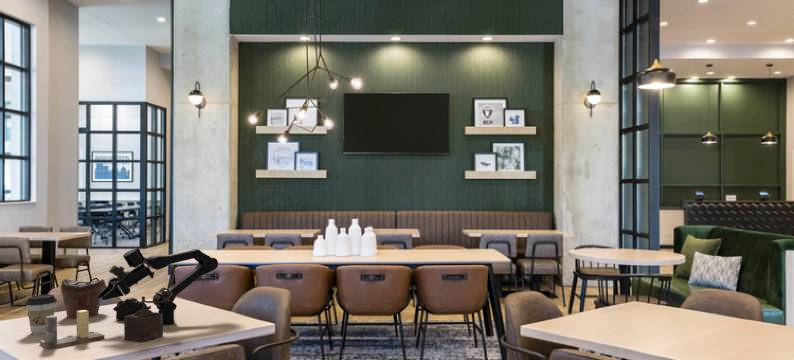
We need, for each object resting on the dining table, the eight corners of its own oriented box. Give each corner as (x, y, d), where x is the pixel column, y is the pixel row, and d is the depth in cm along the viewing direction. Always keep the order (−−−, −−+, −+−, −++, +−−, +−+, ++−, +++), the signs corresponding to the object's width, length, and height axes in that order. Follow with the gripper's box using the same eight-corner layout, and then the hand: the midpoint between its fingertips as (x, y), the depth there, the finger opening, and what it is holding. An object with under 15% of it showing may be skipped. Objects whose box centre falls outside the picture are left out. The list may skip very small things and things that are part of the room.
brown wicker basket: (114, 312, 270) (114, 275, 270) (72, 321, 253) (71, 282, 254) (94, 309, 280) (93, 274, 280) (52, 318, 263) (51, 279, 263)
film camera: (159, 315, 263) (159, 294, 263) (148, 321, 251) (148, 299, 251) (120, 316, 263) (120, 295, 263) (108, 322, 250) (108, 300, 250)
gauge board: (94, 334, 229) (94, 306, 229) (104, 339, 221) (104, 309, 222) (40, 344, 214) (39, 314, 215) (48, 349, 207) (48, 318, 207)
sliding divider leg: (82, 333, 224) (81, 308, 224) (88, 336, 219) (88, 311, 219) (73, 335, 222) (73, 309, 222) (80, 338, 216) (80, 312, 217)
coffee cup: (23, 337, 226) (23, 300, 227) (27, 331, 237) (27, 295, 237) (56, 333, 232) (56, 297, 232) (58, 327, 242) (58, 293, 242)
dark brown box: (144, 342, 215) (143, 296, 215) (123, 340, 219) (123, 294, 220) (174, 333, 229) (174, 289, 230) (154, 330, 234) (154, 287, 234)
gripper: (120, 259, 243) (85, 280, 235) (129, 261, 228) (92, 284, 220) (134, 280, 246) (100, 301, 238) (144, 283, 231) (108, 306, 223)
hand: (100, 298), depth 229 cm, fingers open, 9 cm apart
